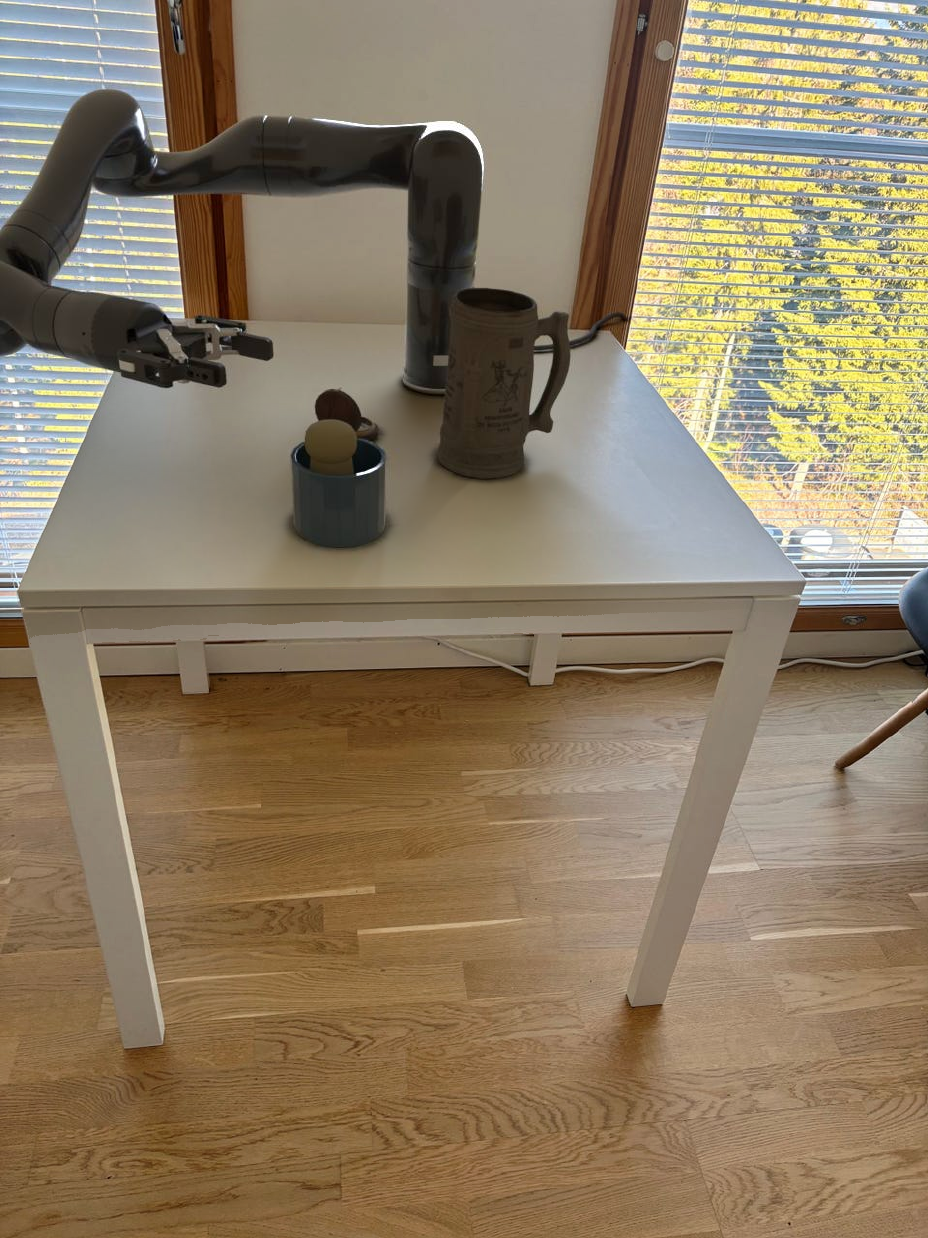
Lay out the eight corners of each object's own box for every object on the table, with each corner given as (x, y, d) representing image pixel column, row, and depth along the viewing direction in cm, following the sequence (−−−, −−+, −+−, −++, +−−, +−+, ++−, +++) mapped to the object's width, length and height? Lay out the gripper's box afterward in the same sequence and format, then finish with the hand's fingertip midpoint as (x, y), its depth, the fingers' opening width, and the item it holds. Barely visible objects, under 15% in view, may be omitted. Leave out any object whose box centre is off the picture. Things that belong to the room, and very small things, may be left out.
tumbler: (358, 495, 102) (358, 429, 97) (401, 533, 95) (403, 465, 91) (279, 514, 97) (275, 445, 92) (319, 556, 91) (317, 484, 86)
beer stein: (456, 486, 105) (480, 312, 94) (417, 448, 113) (435, 283, 101) (565, 474, 112) (600, 311, 101) (521, 439, 119) (549, 283, 108)
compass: (386, 430, 117) (387, 375, 112) (356, 453, 111) (356, 396, 106) (333, 416, 119) (332, 362, 115) (300, 438, 113) (298, 382, 109)
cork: (356, 539, 93) (356, 440, 86) (297, 533, 93) (293, 434, 87) (365, 510, 98) (365, 415, 91) (309, 505, 98) (306, 409, 91)
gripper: (57, 315, 86) (203, 346, 82) (151, 280, 97) (284, 306, 93) (72, 390, 91) (211, 423, 86) (160, 348, 102) (287, 376, 97)
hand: (248, 362), depth 90 cm, fingers open, 8 cm apart
